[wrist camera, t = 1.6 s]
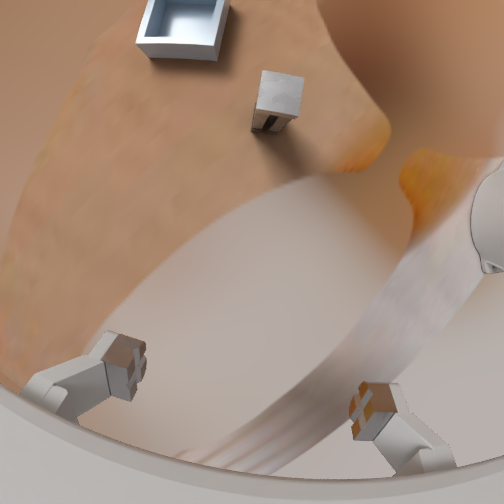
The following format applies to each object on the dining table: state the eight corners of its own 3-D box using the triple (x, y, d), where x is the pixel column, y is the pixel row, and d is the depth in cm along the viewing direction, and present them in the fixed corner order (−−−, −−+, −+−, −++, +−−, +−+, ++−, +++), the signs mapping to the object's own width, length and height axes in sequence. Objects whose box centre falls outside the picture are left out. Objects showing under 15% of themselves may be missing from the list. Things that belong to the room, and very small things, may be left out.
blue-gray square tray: (230, 5, 29) (228, -16, 24) (217, 61, 31) (213, 45, 26) (164, 2, 28) (154, -17, 23) (148, 57, 31) (135, 43, 26)
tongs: (280, 111, 33) (304, 77, 19) (276, 135, 34) (298, 116, 20) (254, 106, 33) (262, 70, 19) (250, 131, 34) (256, 108, 20)
